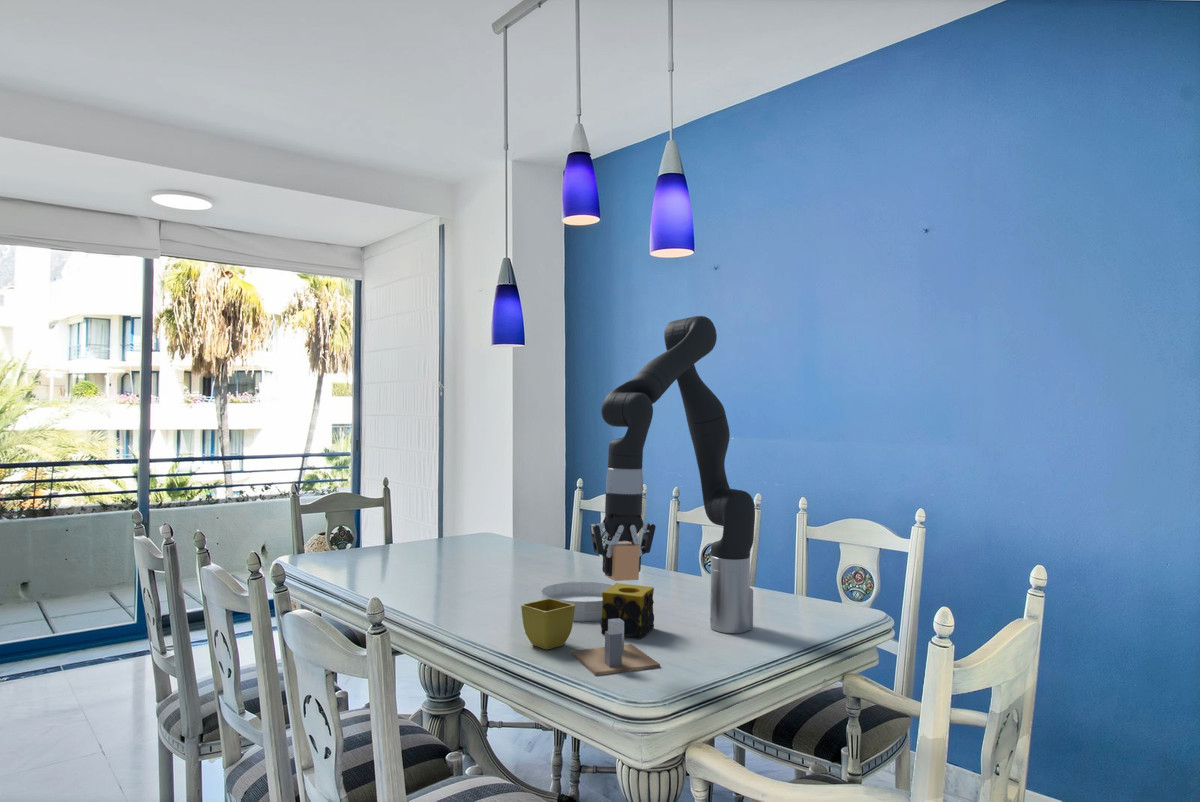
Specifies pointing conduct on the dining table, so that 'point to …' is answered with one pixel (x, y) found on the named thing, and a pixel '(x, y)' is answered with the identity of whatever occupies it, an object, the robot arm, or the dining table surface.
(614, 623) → the metal post
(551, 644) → the flower pot
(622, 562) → the salmon pink brick
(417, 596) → the dining table surface
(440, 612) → the dining table surface
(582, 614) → the dish
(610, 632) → the graphite post
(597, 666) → the board
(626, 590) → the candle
